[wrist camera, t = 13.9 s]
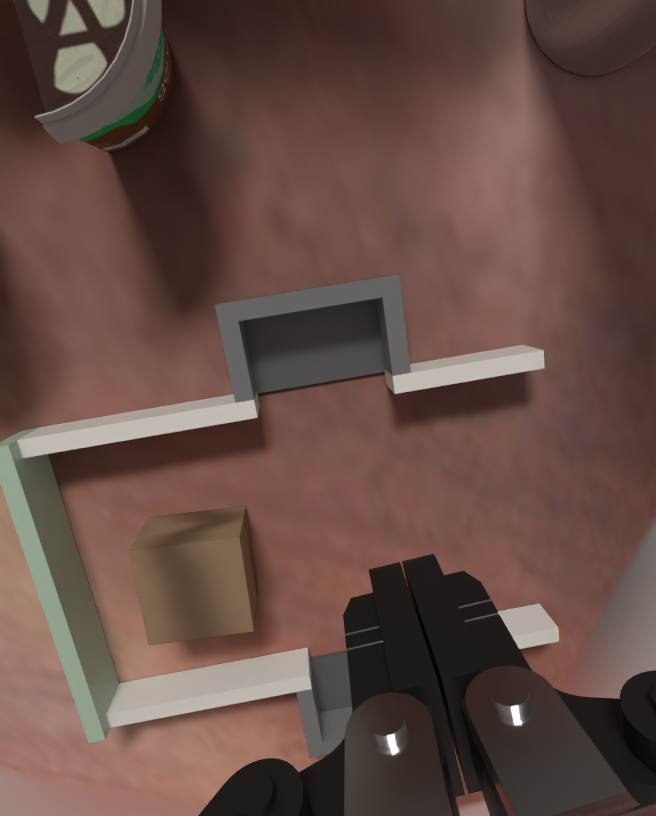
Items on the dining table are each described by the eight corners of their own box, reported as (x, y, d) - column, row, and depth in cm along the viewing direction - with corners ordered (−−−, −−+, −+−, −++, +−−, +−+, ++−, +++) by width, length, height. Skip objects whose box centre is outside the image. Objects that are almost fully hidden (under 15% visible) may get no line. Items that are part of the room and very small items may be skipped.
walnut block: (245, 504, 37) (239, 537, 32) (257, 588, 39) (253, 631, 34) (149, 516, 37) (128, 551, 32) (166, 600, 39) (148, 645, 34)
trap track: (517, 254, 34) (546, 250, 30) (544, 679, 43) (569, 718, 39) (-7, 340, 33) (-46, 347, 29) (127, 760, 42) (111, 809, 38)
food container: (214, 163, 32) (181, 108, 22) (115, 179, 31) (38, 131, 22) (166, -72, 29) (103, -255, 19) (57, -56, 28) (-64, -233, 19)
